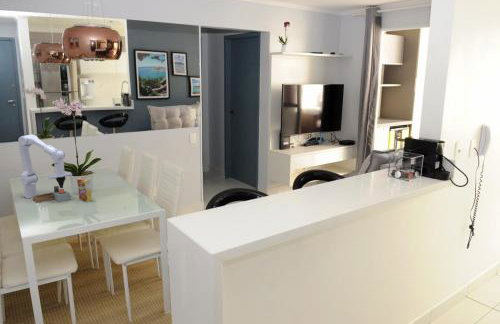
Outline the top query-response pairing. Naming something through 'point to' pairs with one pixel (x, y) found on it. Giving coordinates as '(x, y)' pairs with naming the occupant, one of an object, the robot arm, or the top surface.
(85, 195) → the candy box
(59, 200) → the button housing
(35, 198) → the rail
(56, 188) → the carriage
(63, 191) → the button
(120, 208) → the top surface
